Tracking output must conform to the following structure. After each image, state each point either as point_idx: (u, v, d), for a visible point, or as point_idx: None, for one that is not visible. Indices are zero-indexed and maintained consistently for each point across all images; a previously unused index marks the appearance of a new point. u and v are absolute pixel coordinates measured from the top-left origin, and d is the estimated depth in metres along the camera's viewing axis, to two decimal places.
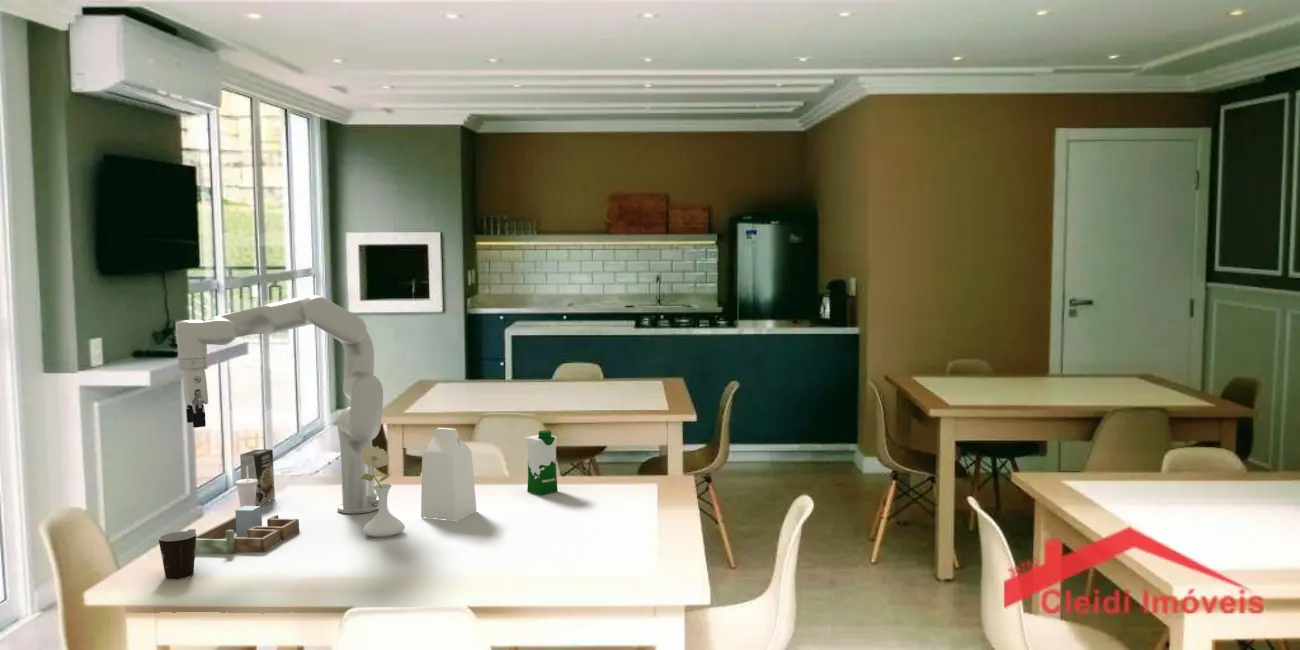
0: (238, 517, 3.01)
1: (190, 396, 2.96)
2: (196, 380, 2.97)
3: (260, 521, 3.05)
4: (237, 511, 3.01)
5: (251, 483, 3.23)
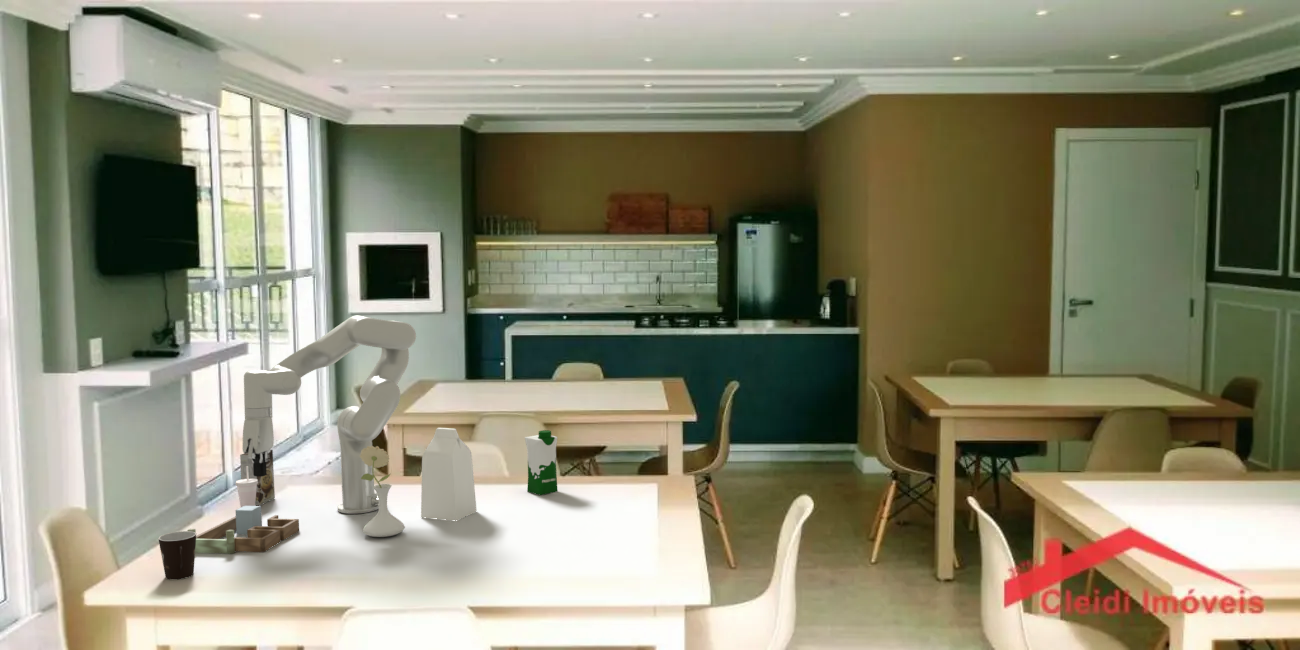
0: (238, 517, 3.01)
1: None
2: None
3: (260, 521, 3.05)
4: (237, 511, 3.01)
5: (251, 483, 3.23)
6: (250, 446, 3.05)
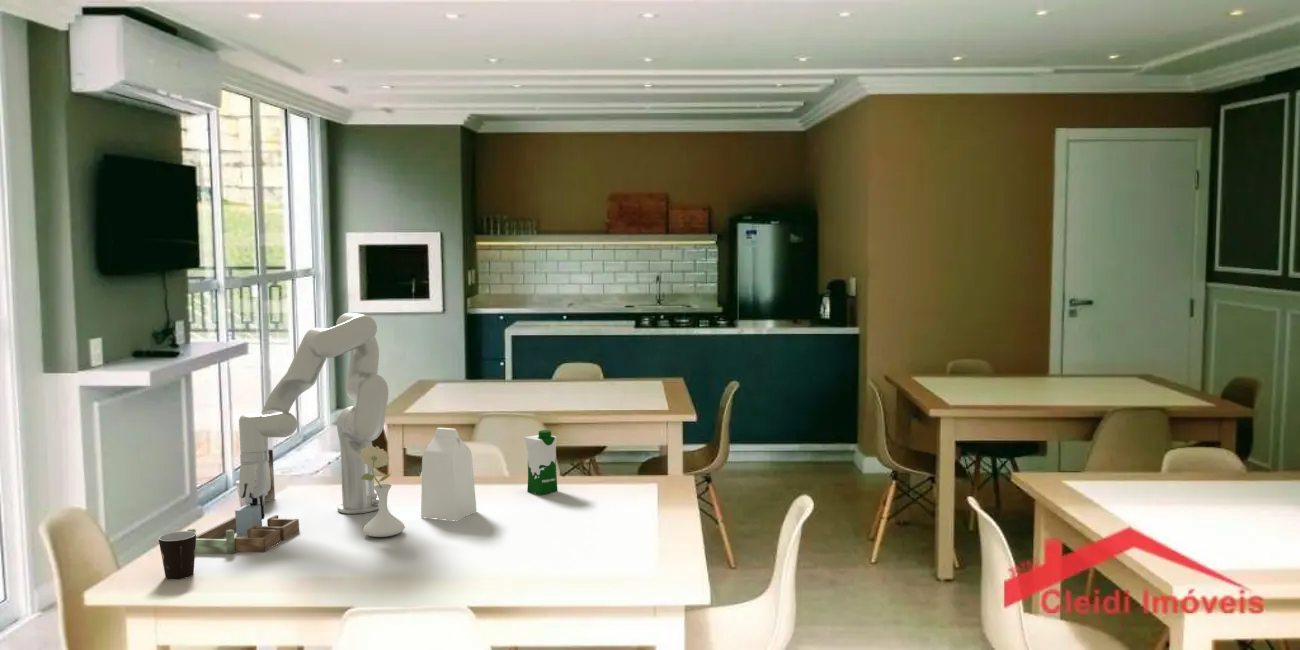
0: (238, 517, 3.01)
1: None
2: None
3: (260, 521, 3.05)
4: (237, 511, 3.01)
5: None
6: (247, 491, 3.03)
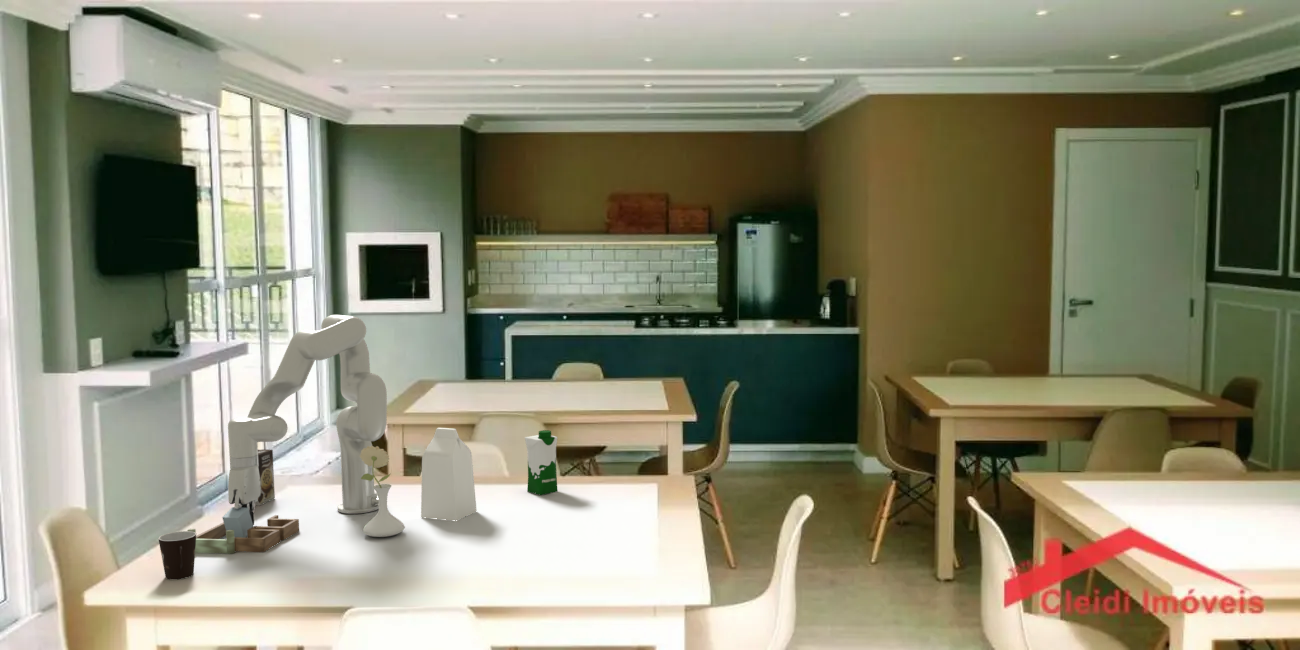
0: (227, 523, 2.96)
1: None
2: None
3: (250, 522, 2.99)
4: (224, 518, 2.95)
5: None
6: (236, 497, 2.97)
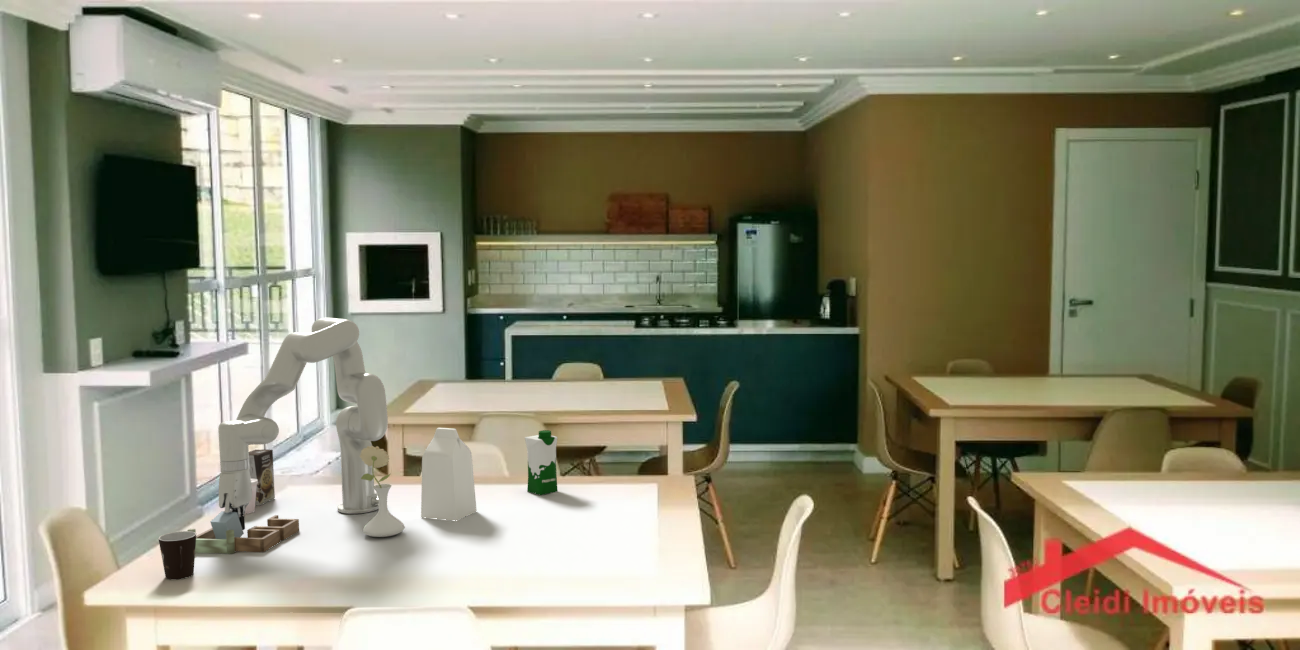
0: (215, 528, 2.91)
1: None
2: None
3: (239, 526, 2.94)
4: (212, 522, 2.91)
5: (251, 483, 3.23)
6: (226, 501, 2.93)
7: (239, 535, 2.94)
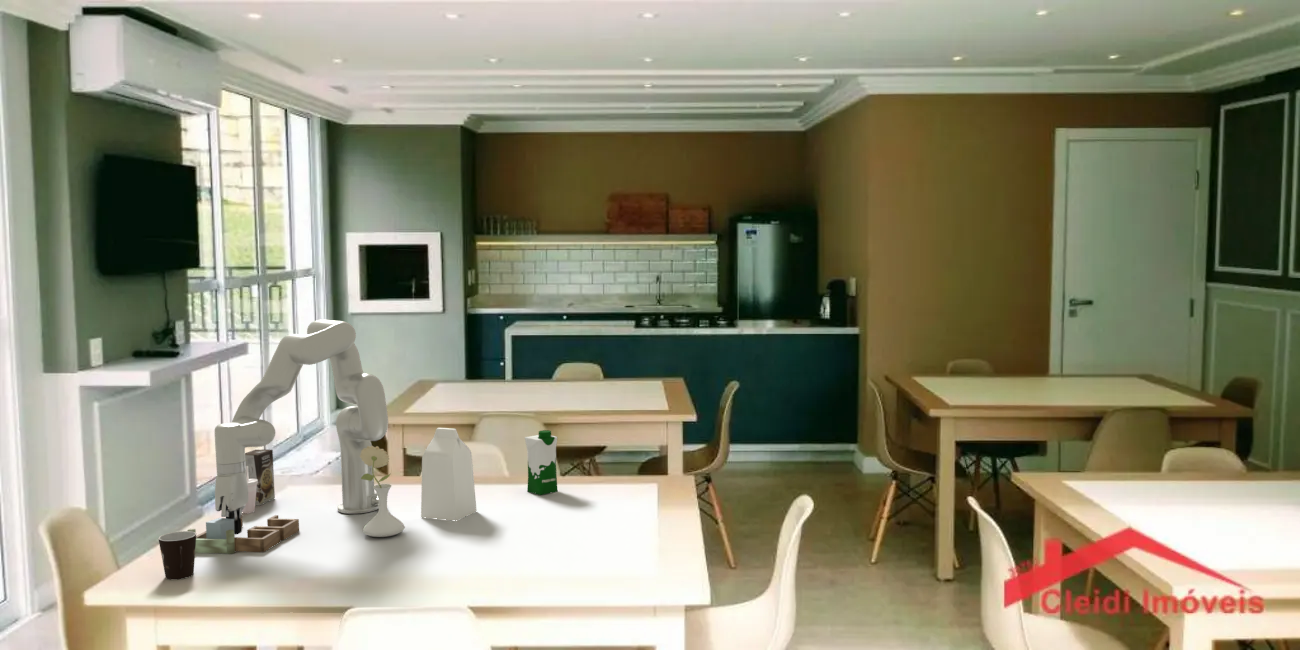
0: (208, 529, 2.88)
1: None
2: None
3: None
4: (207, 523, 2.88)
5: (251, 483, 3.23)
6: (223, 504, 2.91)
7: None
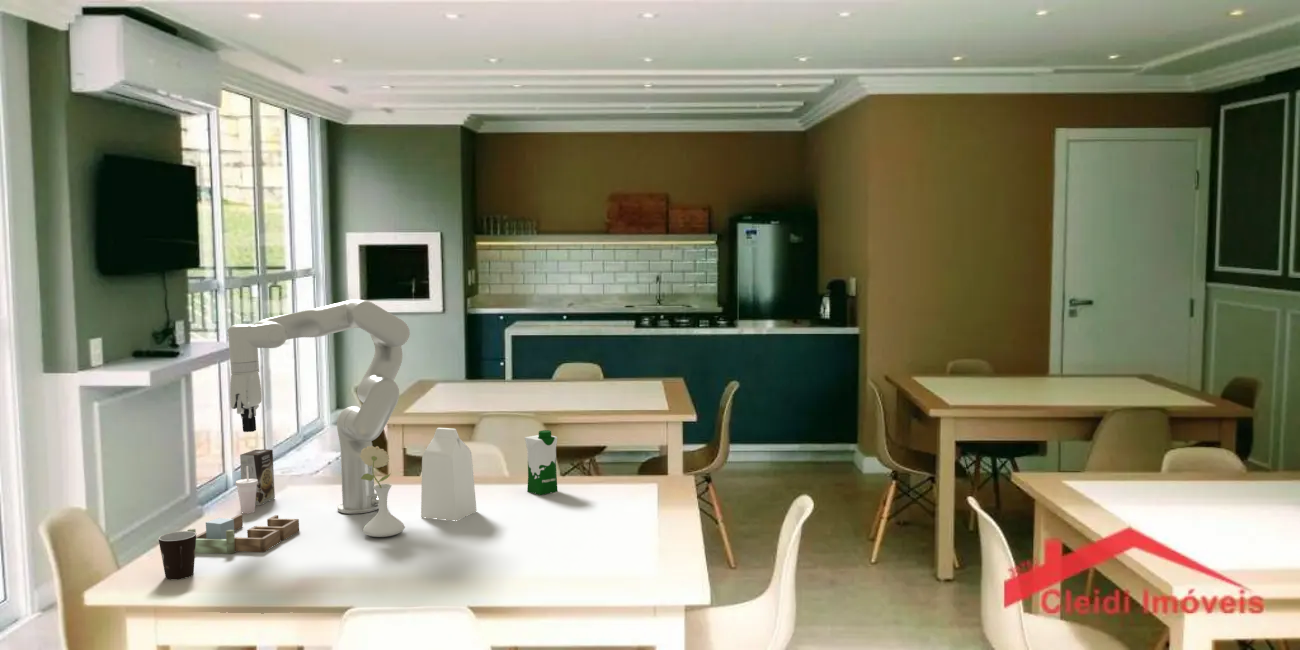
0: (208, 529, 2.88)
1: None
2: None
3: None
4: (207, 523, 2.88)
5: (251, 483, 3.23)
6: (238, 401, 3.01)
7: None
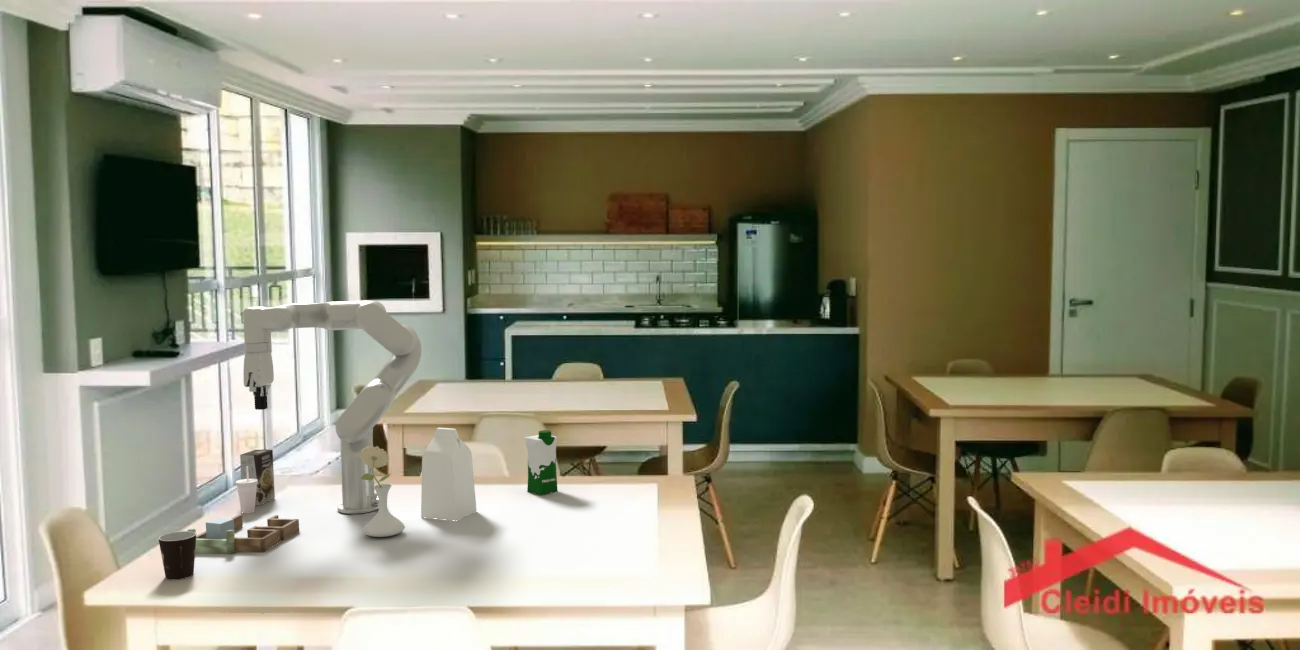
0: (208, 530, 2.88)
1: None
2: None
3: None
4: (207, 524, 2.88)
5: (251, 483, 3.23)
6: (251, 380, 3.15)
7: None
